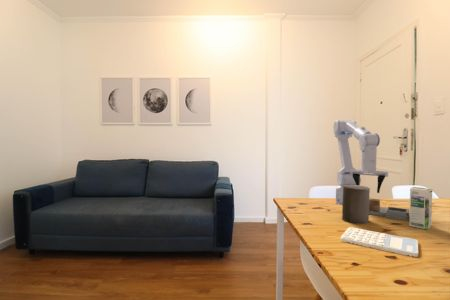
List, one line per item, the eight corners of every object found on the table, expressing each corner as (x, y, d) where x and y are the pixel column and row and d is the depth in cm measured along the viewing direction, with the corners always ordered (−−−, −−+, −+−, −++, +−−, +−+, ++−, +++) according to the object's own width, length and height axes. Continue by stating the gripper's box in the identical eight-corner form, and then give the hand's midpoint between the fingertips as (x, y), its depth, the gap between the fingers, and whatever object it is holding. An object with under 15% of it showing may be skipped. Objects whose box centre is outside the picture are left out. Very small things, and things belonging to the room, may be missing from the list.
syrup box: (408, 226, 96) (409, 187, 96) (413, 223, 100) (414, 186, 99) (427, 230, 92) (428, 190, 91) (431, 226, 95) (432, 188, 95)
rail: (357, 214, 112) (357, 206, 112) (360, 210, 118) (360, 203, 118) (409, 222, 101) (409, 213, 101) (409, 217, 107) (409, 209, 107)
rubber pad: (375, 210, 119) (375, 209, 119) (376, 207, 125) (376, 206, 125) (393, 212, 115) (393, 211, 115) (393, 209, 121) (393, 208, 121)
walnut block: (368, 210, 111) (368, 199, 111) (369, 208, 115) (369, 198, 115) (378, 211, 109) (379, 201, 109) (379, 209, 112) (380, 199, 112)
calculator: (348, 231, 92) (348, 225, 92) (417, 244, 80) (418, 238, 80) (339, 242, 81) (339, 236, 81) (418, 259, 69) (418, 252, 69)
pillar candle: (341, 221, 101) (342, 184, 101) (342, 215, 110) (343, 180, 109) (369, 225, 97) (370, 186, 96) (368, 218, 105) (369, 182, 105)
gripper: (349, 160, 114) (348, 191, 114) (387, 162, 105) (386, 195, 105) (351, 159, 119) (351, 188, 120) (388, 161, 111) (388, 192, 111)
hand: (368, 191), depth 113 cm, fingers open, 7 cm apart
